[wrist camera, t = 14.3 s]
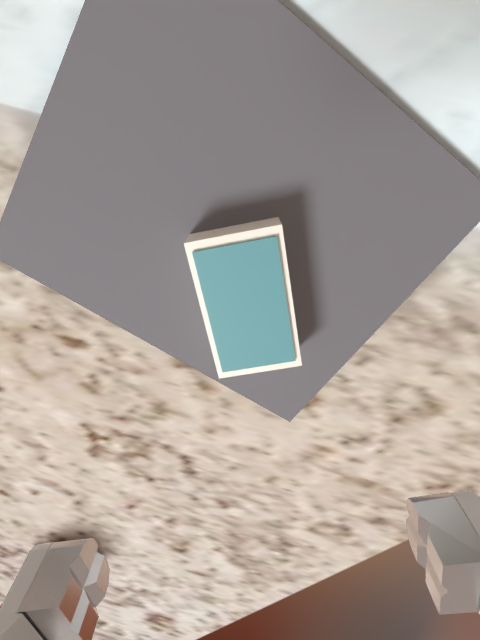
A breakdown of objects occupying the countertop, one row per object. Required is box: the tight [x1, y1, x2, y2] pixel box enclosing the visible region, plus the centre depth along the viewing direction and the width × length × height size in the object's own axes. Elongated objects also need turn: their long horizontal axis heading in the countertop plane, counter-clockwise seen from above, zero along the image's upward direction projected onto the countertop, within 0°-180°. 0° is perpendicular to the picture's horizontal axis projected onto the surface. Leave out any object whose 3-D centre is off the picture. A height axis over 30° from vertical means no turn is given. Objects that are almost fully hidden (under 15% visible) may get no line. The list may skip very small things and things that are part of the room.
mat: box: [0, 0, 480, 422], centre depth 24 cm, size 26×22×1 cm
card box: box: [184, 217, 302, 379], centre depth 25 cm, size 6×3×10 cm
